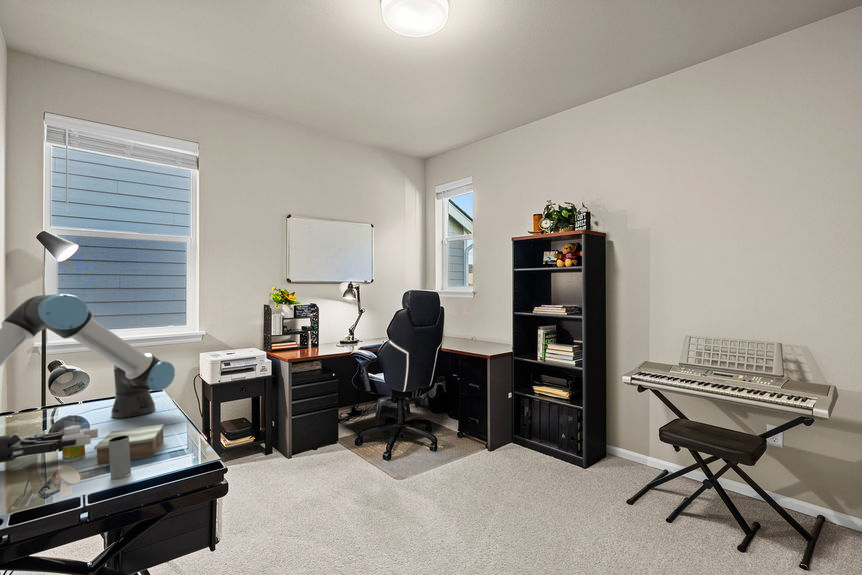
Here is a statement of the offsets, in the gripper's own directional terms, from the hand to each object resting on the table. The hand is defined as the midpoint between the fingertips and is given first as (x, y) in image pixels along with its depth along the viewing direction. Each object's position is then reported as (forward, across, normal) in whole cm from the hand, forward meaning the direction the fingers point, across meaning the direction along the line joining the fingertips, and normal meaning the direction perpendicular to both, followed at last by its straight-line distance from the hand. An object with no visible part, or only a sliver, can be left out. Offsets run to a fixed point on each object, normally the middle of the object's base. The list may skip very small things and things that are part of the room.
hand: (93, 436), depth 135 cm
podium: (+11, +3, -6) cm, 13 cm away
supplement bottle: (-5, 0, -6) cm, 8 cm away
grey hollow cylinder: (+13, +22, -6) cm, 26 cm away
